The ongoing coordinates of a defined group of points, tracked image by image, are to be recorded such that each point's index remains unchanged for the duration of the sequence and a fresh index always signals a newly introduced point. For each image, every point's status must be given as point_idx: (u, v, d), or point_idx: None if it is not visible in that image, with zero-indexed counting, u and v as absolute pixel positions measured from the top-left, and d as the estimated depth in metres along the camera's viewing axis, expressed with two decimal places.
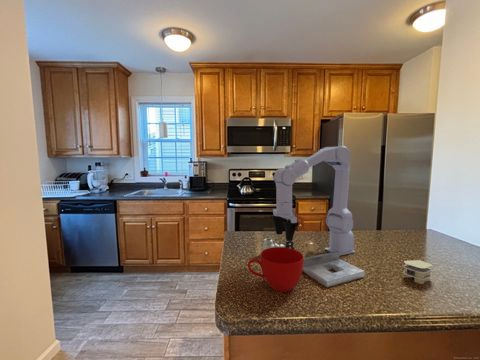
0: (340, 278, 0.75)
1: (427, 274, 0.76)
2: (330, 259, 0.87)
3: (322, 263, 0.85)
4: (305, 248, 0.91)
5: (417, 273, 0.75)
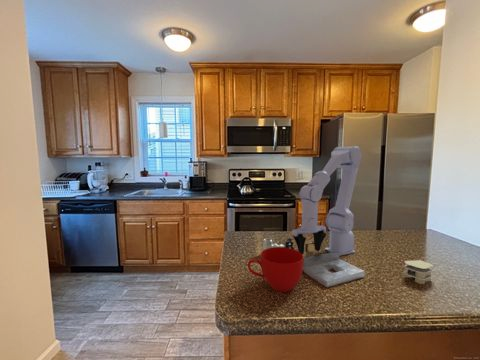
0: (340, 278, 0.75)
1: (428, 274, 0.76)
2: (330, 259, 0.87)
3: (322, 263, 0.85)
4: (305, 248, 0.91)
5: (417, 273, 0.75)
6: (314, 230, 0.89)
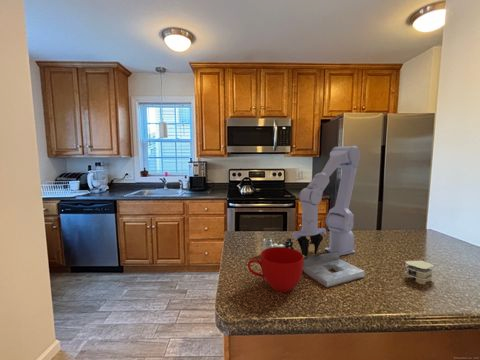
0: (340, 278, 0.75)
1: (429, 274, 0.76)
2: (330, 259, 0.87)
3: (322, 263, 0.85)
4: None
5: (418, 273, 0.75)
6: (314, 233, 0.89)
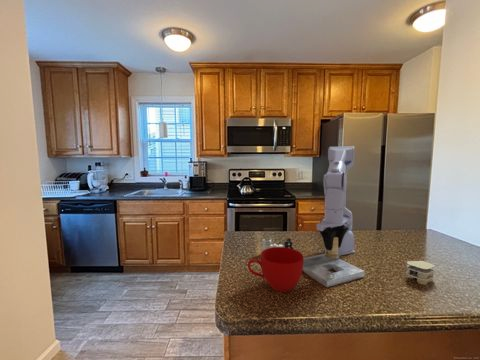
0: (340, 278, 0.75)
1: (430, 275, 0.75)
2: (330, 259, 0.87)
3: (322, 263, 0.85)
4: None
5: (419, 274, 0.75)
6: (341, 223, 0.77)
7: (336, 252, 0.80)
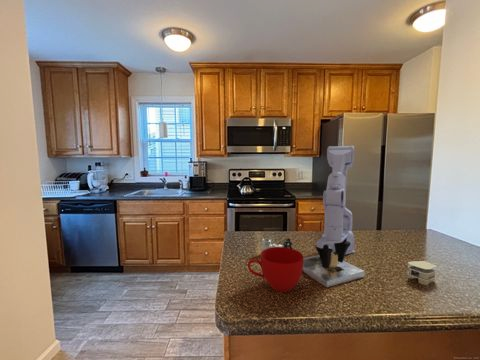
0: (340, 278, 0.75)
1: (431, 275, 0.75)
2: None
3: None
4: None
5: (421, 274, 0.74)
6: (340, 240, 0.78)
7: (336, 270, 0.80)
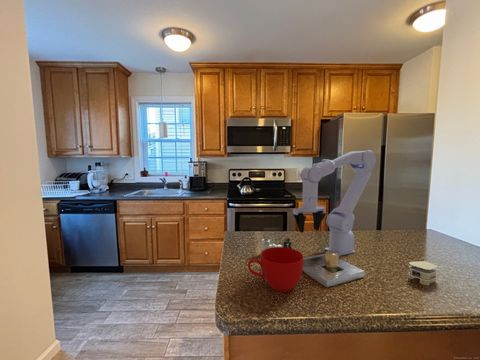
0: (340, 278, 0.75)
1: (433, 275, 0.75)
2: None
3: (322, 263, 0.85)
4: (328, 260, 0.80)
5: (422, 274, 0.74)
6: (314, 209, 0.92)
7: (336, 270, 0.80)
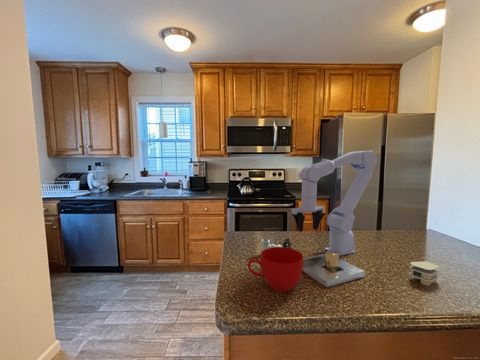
0: (340, 278, 0.75)
1: (434, 275, 0.75)
2: None
3: (322, 263, 0.85)
4: (328, 260, 0.80)
5: (423, 274, 0.74)
6: (313, 209, 0.93)
7: (336, 270, 0.80)
